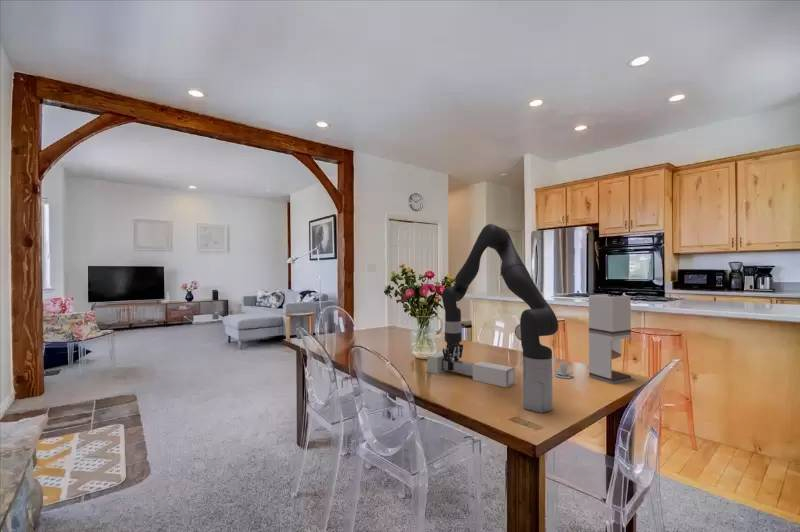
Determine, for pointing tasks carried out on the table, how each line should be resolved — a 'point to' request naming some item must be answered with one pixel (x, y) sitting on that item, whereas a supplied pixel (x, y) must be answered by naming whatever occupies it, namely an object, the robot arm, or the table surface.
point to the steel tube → (459, 366)
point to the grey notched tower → (607, 335)
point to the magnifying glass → (518, 332)
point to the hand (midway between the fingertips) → (453, 369)
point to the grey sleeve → (493, 374)
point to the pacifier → (563, 371)
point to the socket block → (435, 363)
